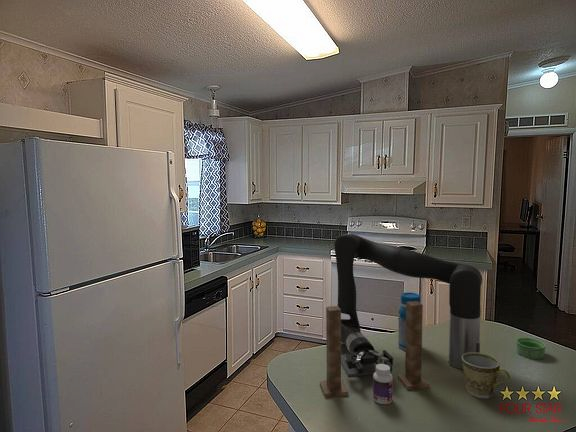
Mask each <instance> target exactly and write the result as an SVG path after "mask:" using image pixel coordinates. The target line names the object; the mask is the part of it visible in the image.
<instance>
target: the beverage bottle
mask: <svg viewBox="0 0 576 432" xmlns="http://www.w3.org/2000/svg"><path fill="white" fill-rule="evenodd" d="M412 301H418V302H419V303H421V295H420V294H419V293H415V292H403V293H402V292H401V294H400V303H401V306H400V307H399V310H398V314H399V315H398V318H397V319H398V320H397V321H398V343H397V345H398V347H399V348H400V349H401V350H403V351H404V352H406V302H412Z"/></svg>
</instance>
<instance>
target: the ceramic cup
mask: <svg viewBox="0 0 576 432" xmlns="http://www.w3.org/2000/svg"><path fill="white" fill-rule="evenodd" d="M462 365H463V369H462V370H463V375H464V381H465V387H466V391H467V392H468V394H469V395H471V396H472V397H476V398H478V399H486V400H487V399H490V398H491V397H492V396H493V394H494V390H495V387H496V386H497V385H498V386H499V385H500V384H502V383H505V382H508V381H509V380H510V374H509V372H508V371H507V370H505V369H500V366H501V362H500V361H499V359H498V358H497V357H495V356H492V355H489V354H487V353H482V352H480V353H477V352H469V353H465V354H463V355H462ZM500 373H503V374H505V375H506V377H507V379H504V380H499V382H496V381H497V379H498V375H499V374H500Z"/></svg>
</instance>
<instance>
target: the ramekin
mask: <svg viewBox="0 0 576 432" xmlns="http://www.w3.org/2000/svg"><path fill="white" fill-rule="evenodd" d="M515 342H516V343H515V344H516V352H517V354H518V355H519V356H521V357H523V356H524V357H523V358H526V359H530V360H541V358H542V359H543V358H544V357H545V351H546V348H547V344H545V342H543V341H542V340H539V339H535V338H532V337H518V338H517V339H516V340H515Z"/></svg>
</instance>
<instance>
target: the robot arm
mask: <svg viewBox="0 0 576 432" xmlns="http://www.w3.org/2000/svg"><path fill="white" fill-rule="evenodd" d="M334 253H335V261H336V262H335V263H336V271H337V273H336V274H337V306H338V307H339V308H340V309H341V314H344V315H348V316H349V318H341V344H344V345H345V346H346V348H347V350H348V352H345V353H344V357H345V362H346V364H347V366H348V368H349V369H352V368H355V369H356V370H357V372H358V373H360V374H361V375H360V376H365V375H364V369H363V367H362V366H363V365H364V364H365V365H367V364H374V365H378V364H386V365H388V366H389V367H390V374H391V373H392V371H393V365H394V357H393V356H392V355H391V354H390V353H389V352H388V351H387V350H386V349H385V350H382V352H378V351H376V349H375V347H374V345H372V343H371V342H370V340H368V338H367V337H366V335H364V334H363V333H362V331H361V324H360V322H359V316H358V312H357V287H356V282H355V277H354V263H355V262H354V261H355V258H357V259H360V260H361V259H362V260H365V261H370V262H373V263H375V264H376V265H379V266H380V267H383V268H384V269H386V270H388V271H390V272H393V273H396V274H398V275H402V276H406V277H409V278H410V277H411V278H417V279H432V280H435V281H440V282H442V283H443V282H444V283H446V284H448V286H449V287H448V289H449V297H448V301H449V302H448V303H449V335H448V337H449V338H448V339H449V342H448V363H449V365H451V366H452V367H454V368H456V369H459V370H463V365H462V355H463V354H465V353H469V352H477V353H481V337H480V335H481V333H480V332H481V312H482V311H481V310H482V309H481V294H482V293H481V291H482V287H481V286H482V283H483V276H482V273H481V272H480V271H479V269H478V268H476V267H475V266H472V265H471V264H466V263H459V262H453V261H447V260H443V259H439V258H436V257H433V256H431V255H428V254H424V253H421V252H419V251H415V250H412V249H408V248H405V247H404V248H403V247H399V246H397V245H392V244H391V245H390V244H386V243H379V242H375V241H373V240H369V239H367V238H364V237H362V236H360V235H358V234H355V233H342V234H339V236H337V238H336V239H335V241H334ZM352 359H353V360H354V361H355V362H352Z"/></svg>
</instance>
